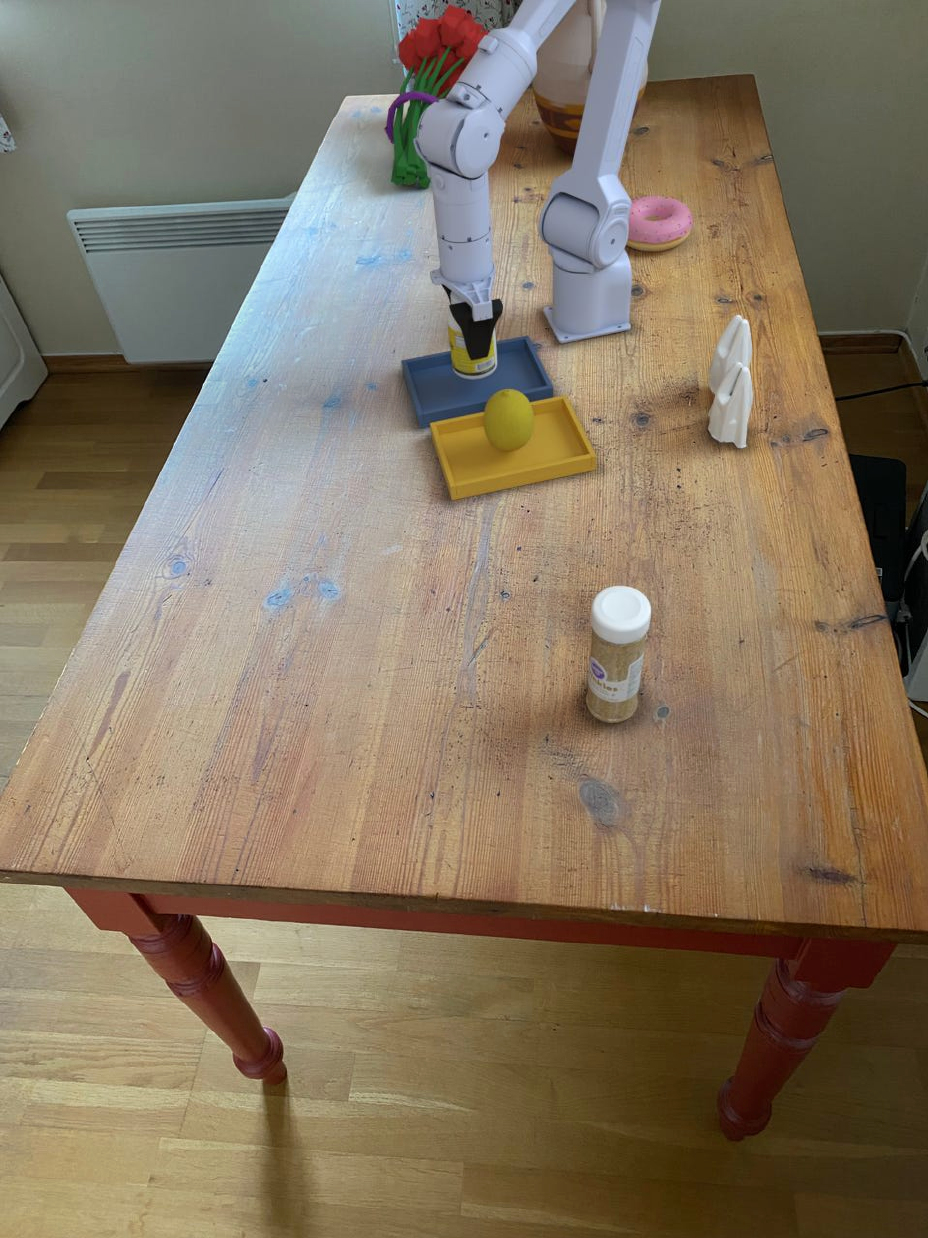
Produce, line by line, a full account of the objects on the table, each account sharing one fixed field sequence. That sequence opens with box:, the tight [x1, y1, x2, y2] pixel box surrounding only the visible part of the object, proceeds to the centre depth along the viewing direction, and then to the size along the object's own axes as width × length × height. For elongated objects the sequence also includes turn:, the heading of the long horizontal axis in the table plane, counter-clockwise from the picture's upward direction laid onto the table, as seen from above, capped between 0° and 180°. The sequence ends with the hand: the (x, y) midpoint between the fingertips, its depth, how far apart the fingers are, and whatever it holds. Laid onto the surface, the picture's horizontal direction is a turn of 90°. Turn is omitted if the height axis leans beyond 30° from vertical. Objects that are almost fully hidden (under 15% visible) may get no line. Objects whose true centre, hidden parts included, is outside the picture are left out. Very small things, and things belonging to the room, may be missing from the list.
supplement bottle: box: [446, 291, 497, 379], centre depth 102 cm, size 5×5×10 cm
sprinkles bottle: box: [585, 585, 652, 724], centre depth 73 cm, size 5×5×13 cm
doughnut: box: [626, 194, 694, 252], centre depth 125 cm, size 11×11×4 cm
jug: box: [531, 0, 649, 158], centre depth 134 cm, size 20×18×30 cm
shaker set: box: [707, 314, 754, 449], centre depth 97 cm, size 12×4×11 cm, turn 171°
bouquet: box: [384, 3, 489, 189], centre depth 144 cm, size 20×16×30 cm
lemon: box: [483, 389, 534, 451], centre depth 97 cm, size 6×6×8 cm
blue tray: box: [400, 334, 554, 429], centre depth 107 cm, size 16×11×2 cm
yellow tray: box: [429, 394, 597, 501], centre depth 99 cm, size 16×11×2 cm
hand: (472, 342), depth 103 cm, fingers closed on supplement bottle, 5 cm apart
